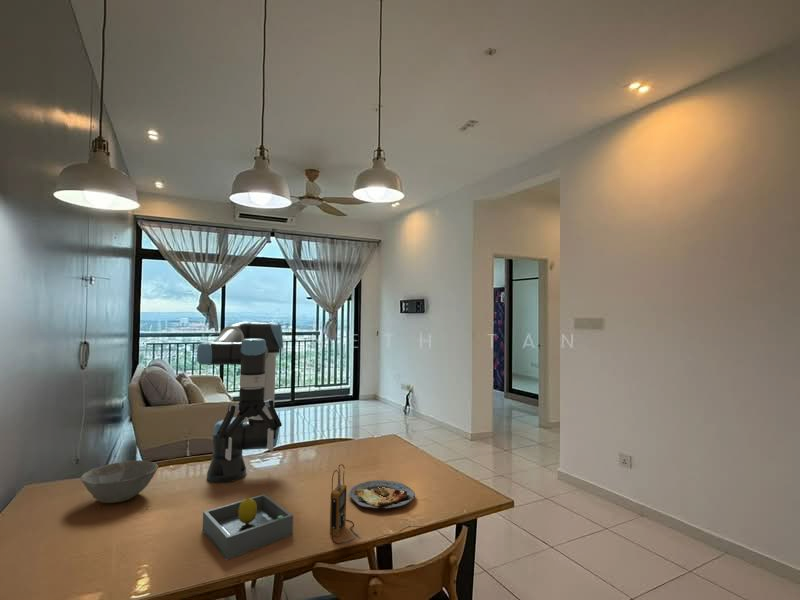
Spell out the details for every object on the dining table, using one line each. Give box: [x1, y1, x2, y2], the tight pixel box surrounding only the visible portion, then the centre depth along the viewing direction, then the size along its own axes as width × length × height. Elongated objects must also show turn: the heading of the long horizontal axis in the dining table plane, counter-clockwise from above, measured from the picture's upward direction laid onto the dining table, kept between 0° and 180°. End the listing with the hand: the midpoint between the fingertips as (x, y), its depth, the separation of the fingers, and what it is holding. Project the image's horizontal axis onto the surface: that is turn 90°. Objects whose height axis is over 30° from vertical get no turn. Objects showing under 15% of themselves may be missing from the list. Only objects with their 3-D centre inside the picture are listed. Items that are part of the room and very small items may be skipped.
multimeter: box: [329, 464, 362, 545], centre depth 128 cm, size 15×10×20 cm
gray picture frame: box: [218, 509, 273, 535], centre depth 126 cm, size 15×15×1 cm
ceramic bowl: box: [80, 459, 159, 504], centre depth 148 cm, size 22×23×10 cm
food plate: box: [347, 479, 416, 510], centre depth 153 cm, size 25×23×4 cm
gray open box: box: [202, 493, 294, 561], centre depth 126 cm, size 20×20×7 cm
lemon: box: [238, 497, 257, 524], centre depth 127 cm, size 6×6×8 cm
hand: (249, 454), depth 130 cm, fingers open, 13 cm apart
